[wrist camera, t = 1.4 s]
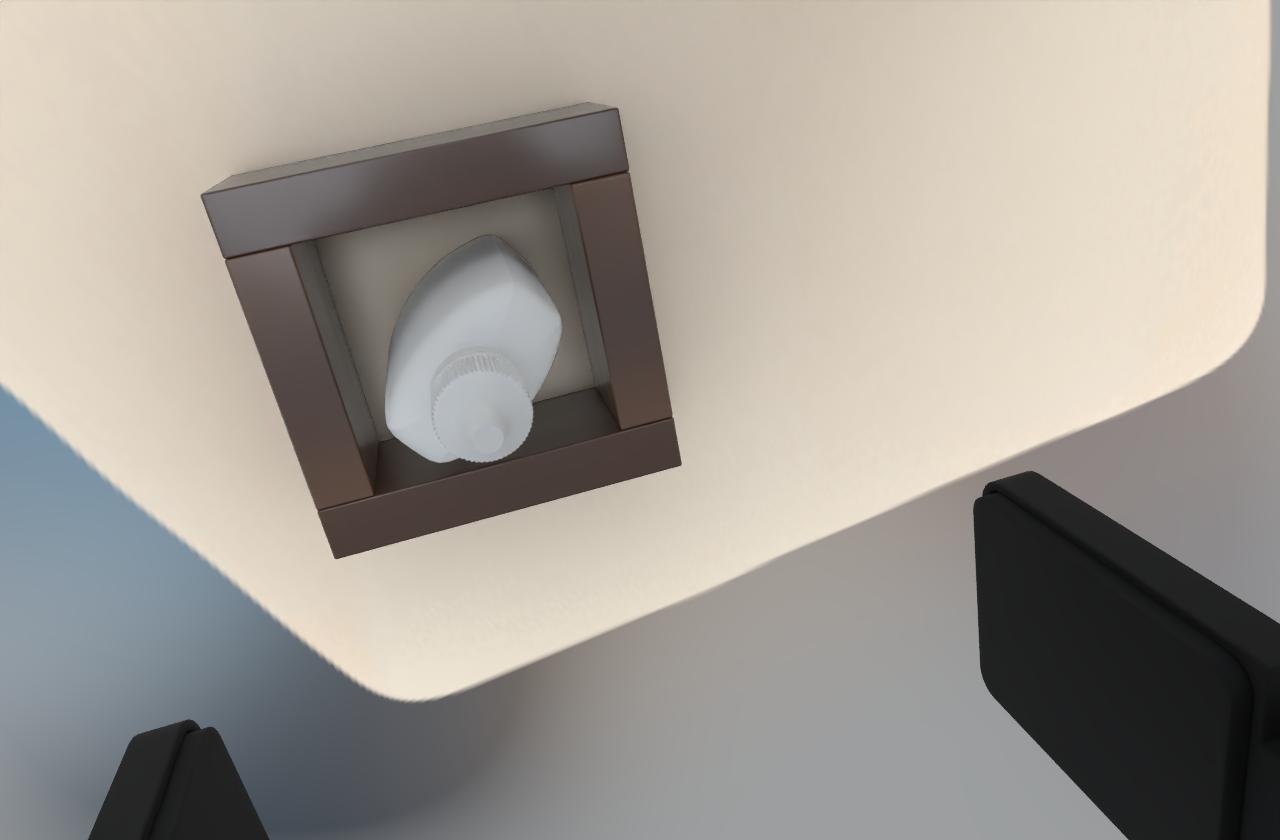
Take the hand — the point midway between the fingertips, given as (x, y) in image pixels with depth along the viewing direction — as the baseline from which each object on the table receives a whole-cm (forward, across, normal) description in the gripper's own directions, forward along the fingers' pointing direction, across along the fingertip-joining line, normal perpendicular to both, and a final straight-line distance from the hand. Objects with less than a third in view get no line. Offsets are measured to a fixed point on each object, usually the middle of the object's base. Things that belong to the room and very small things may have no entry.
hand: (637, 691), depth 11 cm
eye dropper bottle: (+22, +1, 0) cm, 23 cm away
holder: (+22, +1, 0) cm, 22 cm away
